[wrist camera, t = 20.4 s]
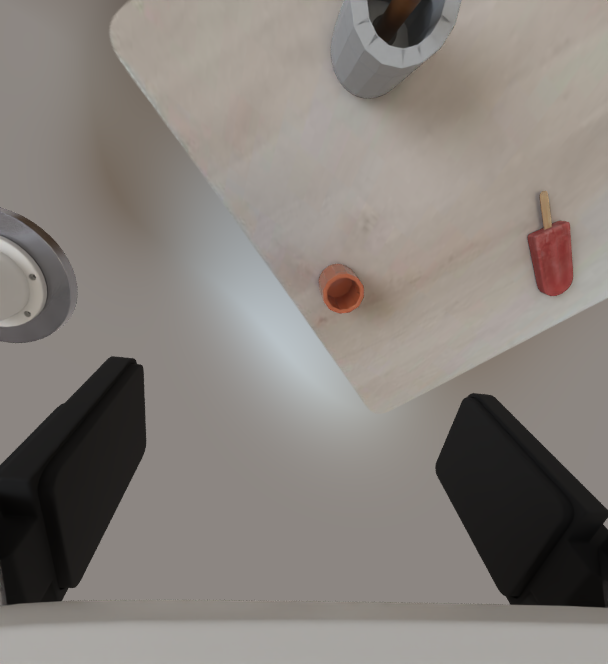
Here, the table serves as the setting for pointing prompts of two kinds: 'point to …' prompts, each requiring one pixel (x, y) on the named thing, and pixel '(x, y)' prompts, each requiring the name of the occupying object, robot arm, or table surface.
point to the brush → (393, 19)
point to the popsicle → (551, 253)
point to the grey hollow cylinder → (375, 54)
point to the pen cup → (340, 288)
